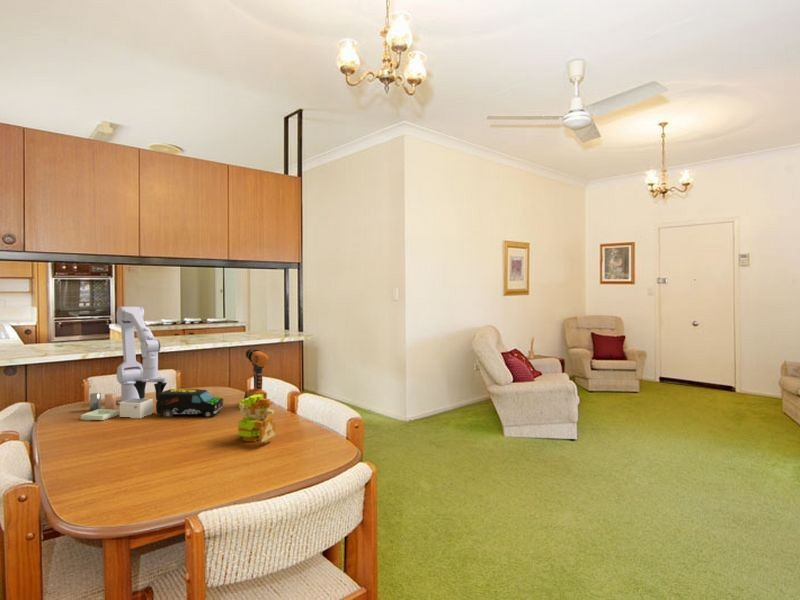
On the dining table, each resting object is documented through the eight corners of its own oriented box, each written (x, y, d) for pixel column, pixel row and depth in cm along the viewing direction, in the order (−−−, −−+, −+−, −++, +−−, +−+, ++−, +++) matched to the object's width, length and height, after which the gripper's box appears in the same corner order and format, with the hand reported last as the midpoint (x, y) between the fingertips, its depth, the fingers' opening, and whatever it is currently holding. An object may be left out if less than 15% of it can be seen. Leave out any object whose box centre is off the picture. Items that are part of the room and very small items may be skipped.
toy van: (215, 418, 190) (215, 393, 190) (154, 417, 190) (154, 393, 189) (224, 411, 201) (224, 388, 201) (166, 411, 200) (166, 388, 200)
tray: (99, 413, 194) (99, 408, 194) (120, 414, 193) (120, 409, 193) (80, 419, 184) (80, 414, 184) (102, 421, 183) (102, 416, 183)
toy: (261, 448, 155) (262, 403, 154) (225, 443, 158) (225, 399, 158) (284, 434, 169) (285, 393, 169) (250, 431, 173) (251, 390, 173)
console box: (133, 412, 197) (133, 397, 197) (153, 413, 196) (153, 398, 196) (119, 417, 188) (119, 402, 188) (139, 418, 187) (139, 403, 187)
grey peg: (94, 408, 202) (94, 392, 202) (102, 409, 202) (103, 392, 202) (87, 410, 198) (87, 394, 198) (95, 411, 198) (95, 394, 198)
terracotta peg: (109, 409, 201) (109, 393, 201) (117, 409, 201) (117, 393, 201) (102, 411, 197) (102, 395, 197) (110, 412, 197) (111, 395, 197)
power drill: (239, 400, 220) (239, 347, 220) (254, 398, 225) (255, 347, 224) (253, 410, 203) (253, 353, 202) (269, 408, 207) (270, 352, 206)
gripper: (128, 368, 197) (128, 400, 197) (160, 369, 195) (160, 401, 196) (139, 365, 204) (139, 396, 204) (170, 366, 202) (170, 398, 203)
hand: (150, 398), depth 200 cm, fingers open, 7 cm apart
